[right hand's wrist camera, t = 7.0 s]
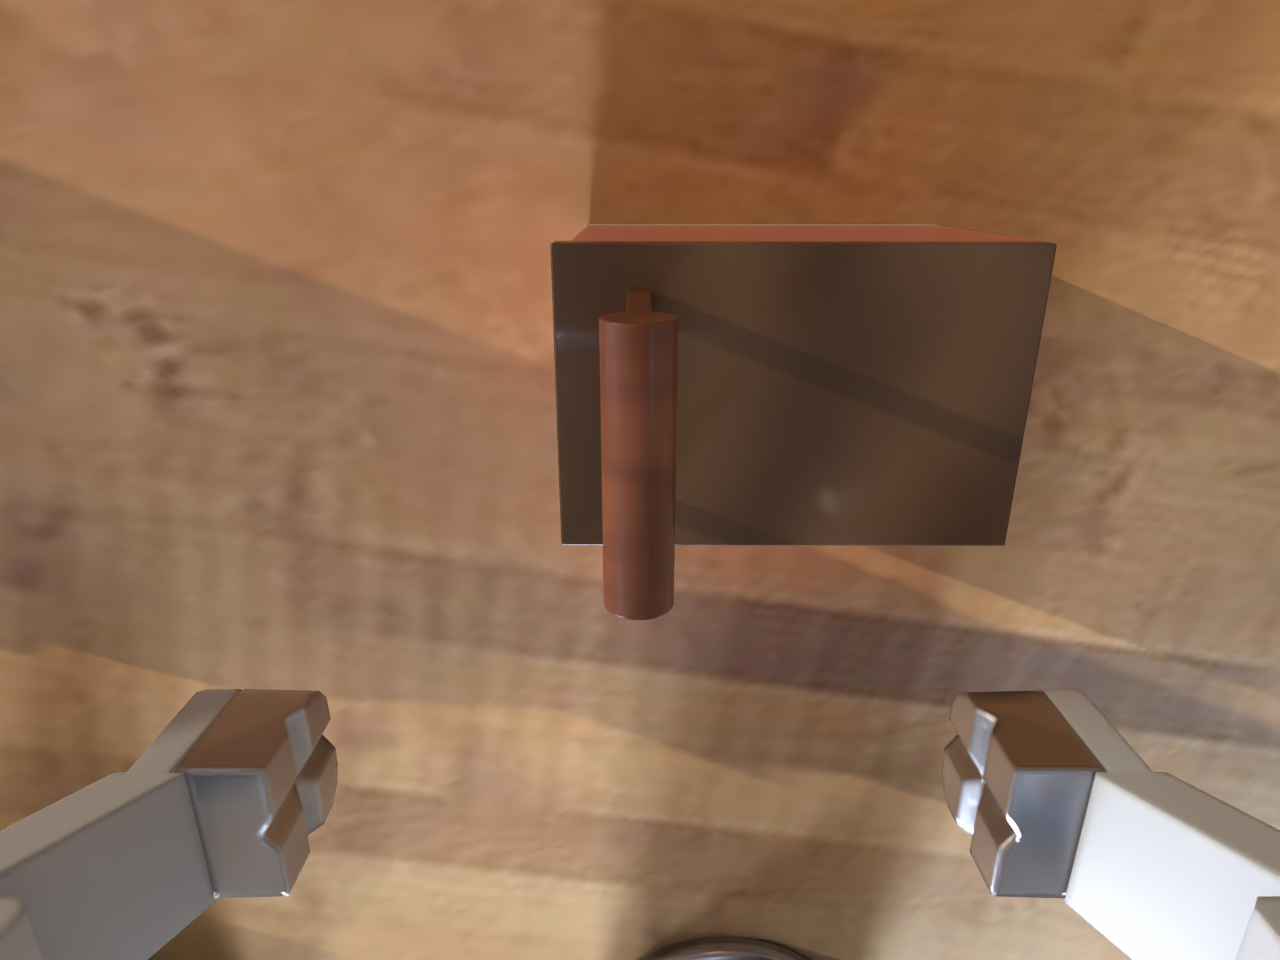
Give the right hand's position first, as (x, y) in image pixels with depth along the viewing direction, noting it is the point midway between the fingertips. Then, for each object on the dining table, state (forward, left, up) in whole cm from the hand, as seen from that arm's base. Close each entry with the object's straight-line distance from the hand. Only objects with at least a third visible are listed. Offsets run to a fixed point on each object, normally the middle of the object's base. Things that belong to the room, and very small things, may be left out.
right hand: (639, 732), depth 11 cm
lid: (+3, -4, -17) cm, 18 cm away
